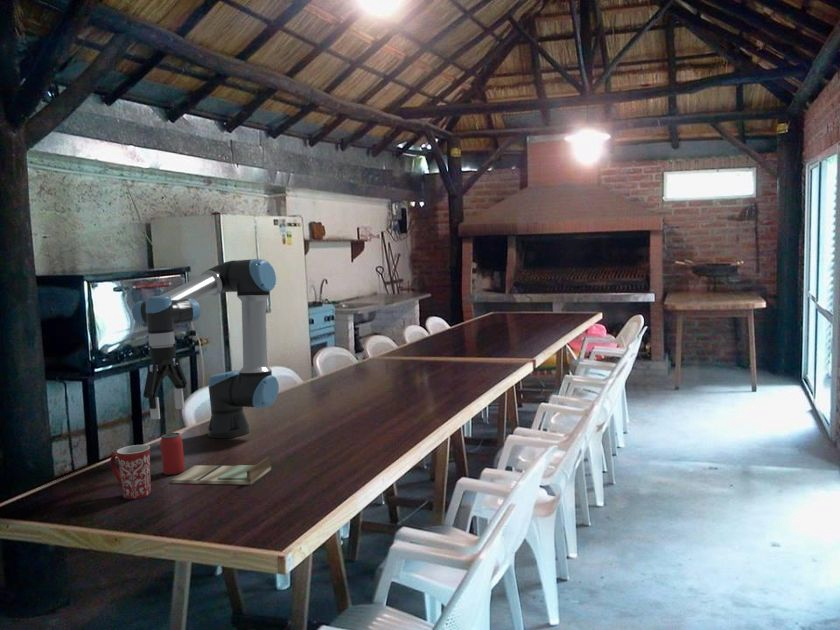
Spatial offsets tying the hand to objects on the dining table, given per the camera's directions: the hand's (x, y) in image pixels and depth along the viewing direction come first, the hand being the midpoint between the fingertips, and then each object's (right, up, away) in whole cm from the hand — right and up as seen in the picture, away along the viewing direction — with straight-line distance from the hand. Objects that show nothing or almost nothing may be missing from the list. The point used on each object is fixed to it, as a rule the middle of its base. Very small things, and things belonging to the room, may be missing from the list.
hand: (168, 413), depth 227 cm
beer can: (+1, -19, +2) cm, 19 cm away
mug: (-4, -21, -17) cm, 27 cm away
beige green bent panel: (+18, -18, -5) cm, 26 cm away
